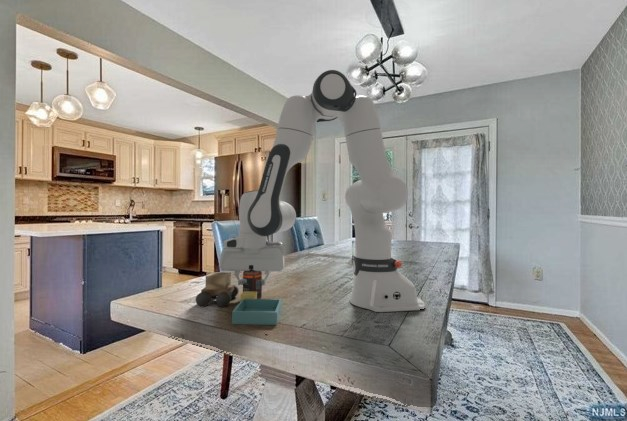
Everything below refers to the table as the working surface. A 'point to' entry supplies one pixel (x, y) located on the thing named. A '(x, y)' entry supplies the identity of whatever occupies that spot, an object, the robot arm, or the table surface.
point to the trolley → (217, 289)
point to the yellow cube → (249, 295)
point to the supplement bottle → (252, 281)
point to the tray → (257, 311)
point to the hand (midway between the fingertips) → (252, 284)
